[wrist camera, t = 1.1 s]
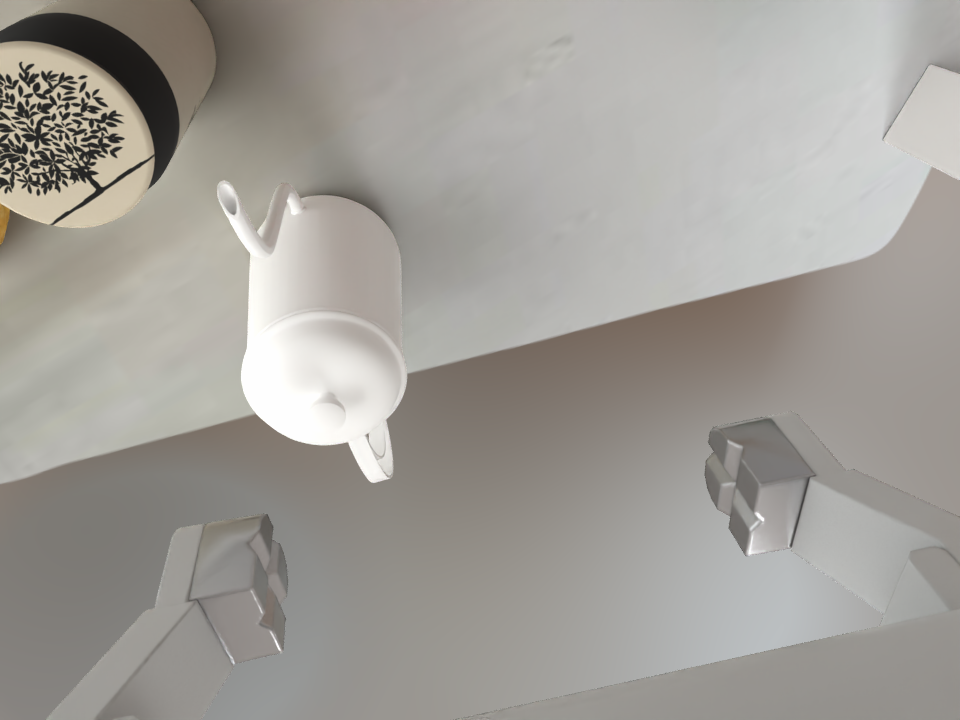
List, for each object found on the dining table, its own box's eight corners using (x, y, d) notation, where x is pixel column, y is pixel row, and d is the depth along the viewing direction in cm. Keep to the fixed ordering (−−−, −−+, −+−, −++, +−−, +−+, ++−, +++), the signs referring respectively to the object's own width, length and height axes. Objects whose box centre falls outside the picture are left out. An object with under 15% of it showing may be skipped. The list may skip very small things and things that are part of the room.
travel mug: (42, 6, 40) (-120, 89, 26) (164, -53, 39) (68, -2, 25) (132, 132, 45) (37, 262, 30) (242, 82, 44) (198, 190, 30)
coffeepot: (335, 61, 44) (337, 165, 29) (438, 360, 59) (474, 529, 44) (173, 110, 44) (92, 238, 29) (317, 396, 59) (312, 577, 44)
